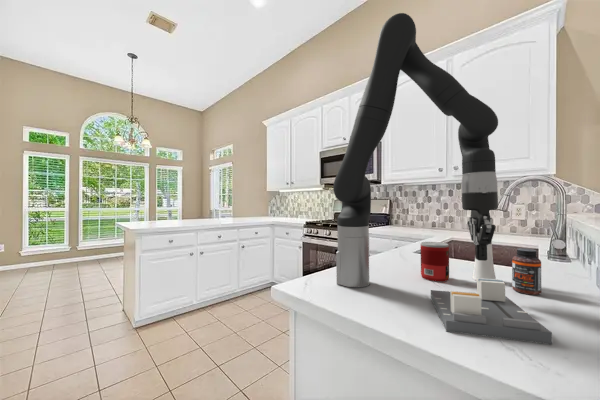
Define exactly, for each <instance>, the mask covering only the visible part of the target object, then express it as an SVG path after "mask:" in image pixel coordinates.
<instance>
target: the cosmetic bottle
mask: <svg viewBox="0 0 600 400" xmlns="http://www.w3.org/2000/svg"><path fill="white" fill-rule="evenodd" d="M492 241H493V240H492ZM492 241H491V244H488V246H487V245H486V246H487V260H486V261H482V260H477V259H476V258H475V257H474V266H473V273H472V277H471V278H472V280H474V281H476V282H477V278H484V279H497V278H496V271H495V267H494V258H493V257H494V255H493V244H492V243H493V242H492Z"/></svg>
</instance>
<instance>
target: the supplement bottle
mask: <svg viewBox="0 0 600 400" xmlns="http://www.w3.org/2000/svg"><path fill="white" fill-rule="evenodd" d="M511 260H512V261H511V265H512V266H511V267H512V268H511V269H512V274H511V276H512V277H511V279H512V280H511V284H512V285H511V287H512V289H513V291H515V292H517V293H520V294H524V295H531V296H538V295H541V294H542V260H541V259H540V258H539V257H537V250H535V249H532V248H522V247H521V248H519V247H518V248H516V255H514V256H513V257H512V259H511Z"/></svg>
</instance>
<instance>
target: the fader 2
mask: <svg viewBox="0 0 600 400" xmlns="http://www.w3.org/2000/svg"><path fill="white" fill-rule="evenodd" d="M476 294H479V297H480V298H481V299H482V300H493V301H504V302H505V296H506V283H505V282H504V280H502V279H497V278H496V279H484V278H477V281H476Z"/></svg>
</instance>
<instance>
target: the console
mask: <svg viewBox="0 0 600 400" xmlns="http://www.w3.org/2000/svg"><path fill="white" fill-rule="evenodd" d="M430 300H431V301H432V304H433V306H434V308H435V309H436V313H437V314H438V316H439V318H440V321H441V323H442V325H443V327H444V329H445V331H446V332H448V333H457V334H464V335H472V336H473V335H474V336H482V337H487V338H488V337H490V338H497V339H505V340H506V339H507V340H514V341H521V342H529V343H536V342H537V344H547V345H553V333H552V331H551V330H549V329H548V328H547V327H546V326H544V325H543V324H541V323H540V322H539V321H538V320H537V319H535V318H534V317H533V316H531V314H529V312H527V311H525V310H524V309H523V308H522V307H520V306H519V305H517V303H515V302H514V301H513V300H511V299H510V298H509V297H508V296H506V295H505V302H504V301H493V300H482V299H481V315H473V314H464V313H454V312H453V314H452V312H451V299H450V291H448V290H447V291H446V290H436V289H435V290H434V289H430Z"/></svg>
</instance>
